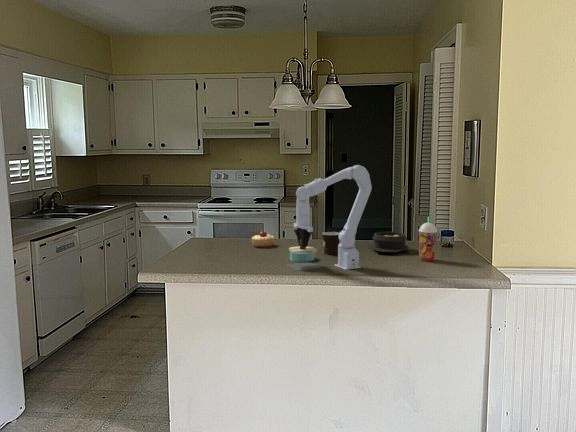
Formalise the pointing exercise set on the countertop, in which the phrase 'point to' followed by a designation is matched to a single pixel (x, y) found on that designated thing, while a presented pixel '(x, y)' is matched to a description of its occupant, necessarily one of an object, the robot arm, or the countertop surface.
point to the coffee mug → (330, 243)
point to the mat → (303, 266)
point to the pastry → (263, 240)
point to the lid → (302, 249)
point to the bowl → (301, 257)
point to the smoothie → (427, 241)
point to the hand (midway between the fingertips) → (303, 246)
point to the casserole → (389, 242)
